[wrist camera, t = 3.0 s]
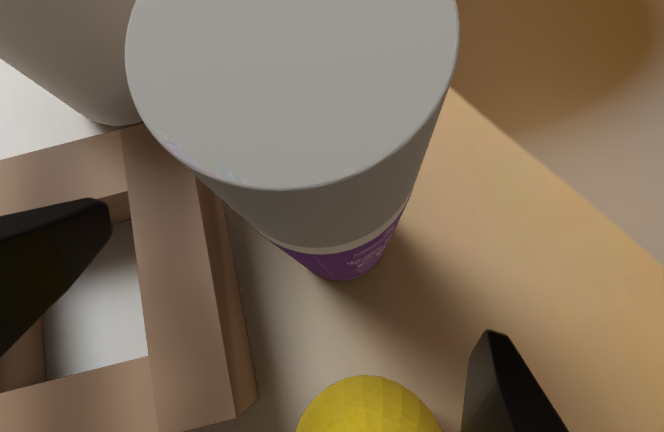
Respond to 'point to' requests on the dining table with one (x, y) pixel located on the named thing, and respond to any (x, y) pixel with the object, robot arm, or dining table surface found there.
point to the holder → (156, 293)
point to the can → (73, 53)
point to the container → (298, 111)
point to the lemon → (367, 408)
